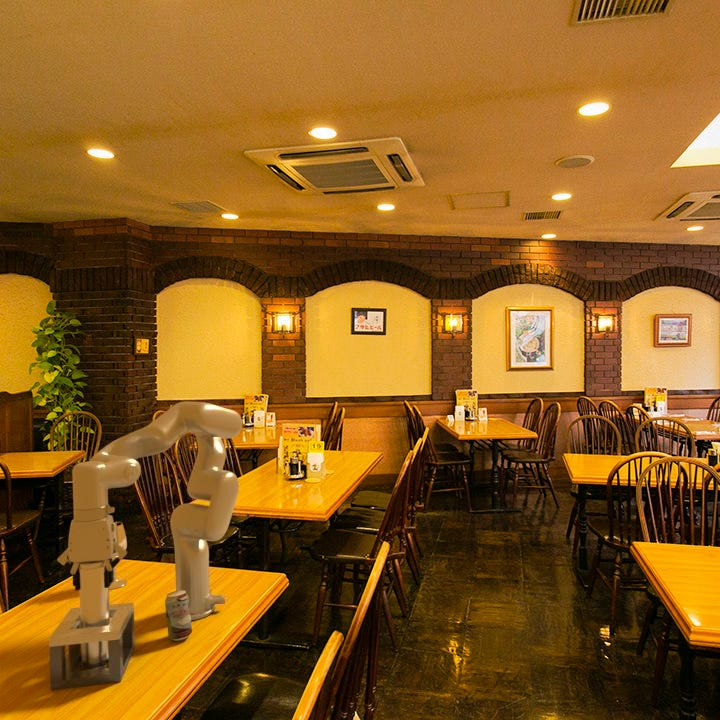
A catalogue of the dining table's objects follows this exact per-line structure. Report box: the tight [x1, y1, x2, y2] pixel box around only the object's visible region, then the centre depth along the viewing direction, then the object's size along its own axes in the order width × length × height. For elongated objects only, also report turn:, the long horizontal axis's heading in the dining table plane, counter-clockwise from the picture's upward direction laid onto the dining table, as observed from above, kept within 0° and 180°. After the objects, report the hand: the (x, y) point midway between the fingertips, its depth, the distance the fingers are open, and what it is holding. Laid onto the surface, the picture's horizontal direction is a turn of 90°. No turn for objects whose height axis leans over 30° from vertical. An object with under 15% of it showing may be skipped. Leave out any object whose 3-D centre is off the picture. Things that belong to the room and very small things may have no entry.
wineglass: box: [109, 521, 128, 590], centre depth 185 cm, size 8×8×20 cm
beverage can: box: [164, 590, 193, 642], centre depth 149 cm, size 6×7×12 cm
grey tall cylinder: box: [78, 561, 111, 670], centre depth 135 cm, size 6×6×25 cm
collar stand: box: [48, 601, 136, 691], centre depth 135 cm, size 15×15×12 cm
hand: (93, 586), depth 135 cm, fingers closed on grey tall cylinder, 6 cm apart
